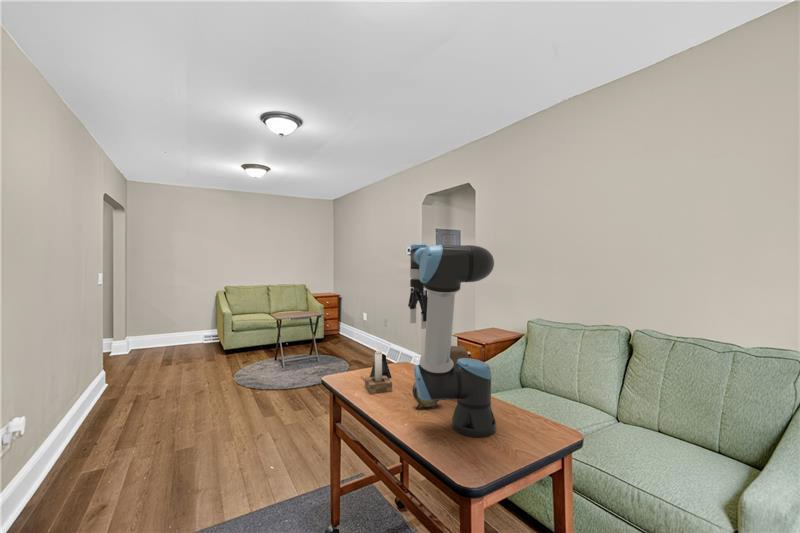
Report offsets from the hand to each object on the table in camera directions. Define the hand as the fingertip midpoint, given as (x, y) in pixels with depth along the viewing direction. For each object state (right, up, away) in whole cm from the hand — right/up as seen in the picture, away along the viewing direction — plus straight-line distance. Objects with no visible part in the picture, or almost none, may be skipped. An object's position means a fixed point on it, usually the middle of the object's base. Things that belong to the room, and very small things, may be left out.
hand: (418, 325), depth 162 cm
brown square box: (-18, -29, +1) cm, 34 cm away
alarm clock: (+2, -29, -18) cm, 35 cm away
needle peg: (-18, -29, +1) cm, 34 cm away
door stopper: (-18, -29, +16) cm, 37 cm away
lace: (-25, -28, +11) cm, 39 cm away
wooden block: (+15, -29, -5) cm, 33 cm away
